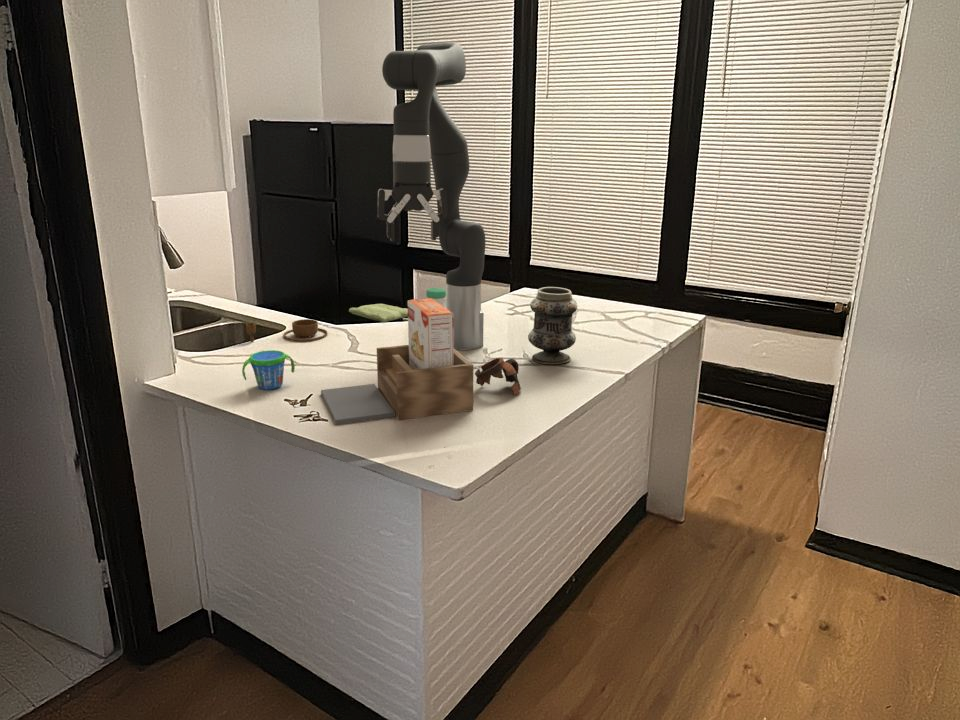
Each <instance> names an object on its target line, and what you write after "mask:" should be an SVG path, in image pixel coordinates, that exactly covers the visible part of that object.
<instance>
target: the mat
mask: <svg viewBox="0 0 960 720" xmlns="http://www.w3.org/2000/svg"><path fill="white" fill-rule="evenodd" d="M320 394H321V397H322V399H323V401H324V403H325V405H326V408H327V409H328V411H329V414H330V415H331V417H332V420H333V422H334V424H335V425H343V424H351V423H358V422H359V423H360V422H366V421H372V420H374V421H375V420H380V419H381V420H382V419H387V418H388V419H390V418H395V417H396V415H395V412H394V410H393V409H392V408H391V406H390V405H389V403H388V402H387V401H386V399H385V398H384V396H383V395H382V394H381V392H380V391H379V389H378V385H376V384H375V383H370V384H360V385H352V386H343V387H334V388H327V389H325V388H324V389H320Z"/></svg>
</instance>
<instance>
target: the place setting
mask: <svg viewBox="0 0 960 720" xmlns="http://www.w3.org/2000/svg"><path fill="white" fill-rule="evenodd" d="M318 324H319V323H318V321H317V320H316V319H310V318H309V319H307V318H305V319H297V320H294V321H293V322H291V327H292V329H289V330H287V331H285V332H284V333H283V338H284V339H285V340H287V341H289V342H295V343H305V342H307V343H308V342H315V341H316V342H317V341H320V340H322V339H325V338H326V337H327V336H328V331H327V330H326V329H324V328H320V327H319V325H318ZM256 326H257V325H256V323H254V322H251V323H250V322H249V323H246V324H245V329H246V333H247V334H248V335H249V341H250V342H251V343H254V342H255V338H254V335H255V334H256V333H257V332H256V330H257V328H256ZM318 331H319V332H323V333H325V334H323V335H321V336H317V337H314V336H315V335H316V334H317V333H318ZM290 333H293V334H294V335H295V336H296V337H297V338H294V337H293V338H292V337H288V336H287V335H288V334H290ZM298 337H299V338H298Z"/></svg>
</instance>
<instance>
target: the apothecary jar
mask: <svg viewBox="0 0 960 720" xmlns="http://www.w3.org/2000/svg"><path fill="white" fill-rule="evenodd" d="M572 294H573V293H572V291H571V290H570V289H568V288H566V287H565V288H564V287H558V286H545V287H539V288H538V289H537V293H536V296H535V297H533V298H532V299H531V301H530V305H529V306H530V309H531V310H532V311H533V313H534V318H533V319H534V320H533V327H532V329H530V331H529V333H528V335H527V336H528V337H527V339H528V342H529V343H530V344H531V345H532V346H533V347H534V348H537V349H539V350H542V351H539V352H536V353H534V354H533V355H532V356H531V359H532V360H533V361H534V362H536V363H539V364H542V365H554V366H555V365H563V364H567V363H569V362H570V361H571V356H570V355H569V354H567V353H565V352H563V351H564V350H567V349H570V348H572V346H574V344H575V343H576V340H577V337H576V334H575V333H574V331H573V329H572V327H573V324H572V323H573V314H574V313H576V312H577V310H578V302H577V301H576V299H574V298H573V295H572Z"/></svg>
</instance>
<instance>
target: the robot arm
mask: <svg viewBox="0 0 960 720" xmlns="http://www.w3.org/2000/svg"><path fill="white" fill-rule="evenodd" d="M382 63H383V64H382V68H381V69H382V71H381V72H382V77H383V81H385V83H386V85H387V86H388V87H389V88H391V89H393V90H394V91H395V90H397V91H417V93H416V96H415V97H414V99H412V100H411V101H406V102H403V103H399V104H396V105H395V106H394V108H393V112H392V116H393V117H392V118H393V141H392V171H393V173H392V174H393V175H392V176H393V178H392V179H393V180H392V181H393V184H392V185H393V186H392V188H391V189H383V188H379V189H378V190H377V203H376V204H377V206H376V211H377V213H376V217H377V218H378V219H379V220H380V221H383V222H385V223H386V236H387V239H389V240H390V242H395V239H396V238H395V237H396V235H395V234H396V233H395V232H396V230H395V222H394V221H395V219H396V217H398V215H399V214H401V212H402V210H403V211H405V212H410V211H417V212H421V211H423V210H424V211H425V213H427V215H428V216H429V218H430V219H431V221H430V240H431V241H436V240H437V238H438V242H439V245H440V248H441V250H442V252H443V253H444V254H446V255H448V256H452V257H458V258H460V259H459V260H460V261H459V266H458V267H457V268H455V269H451V270H448V271H447V273H446V275H445V279H446V280H445V283H446V284H445V290H446V299H445V304H446V308H447V310H449V311H450V312H452V313H453V348H454V349H455V350H457V351H471V350H476V349H478V348H481V347H484V325H485V324H484V321H485V320H484V316H485V315H484V312H483V311H482V277H483V275H484V274H483V273H484V270H485V269H484V268H485V257H486V256H485V255H486V234H485V230H484V227H483V226H482V225H481V224H480V223H478V222H475V221H465V220H462V219H461V215H460V197H461V194H462V191H463V188H464V186H465V184H466V181H467V180H468V179H467V178H468V176H469V173H470V156H469V147H468V141H467V139H466V137H465V135H464V133H463V132H462V131H461V129H460V128H459V127H458V125H457V124H456V123H455V121H454V120H453V119H452V118H451V117H450V115H449V113H448V112H447V111H446V109H445V108H444V105H443V104H442V102H441V100H440V96H439V95H438V90H437V87H441V86H453V85H456V84H459V83H461V82H463V80H464V79H465V76H466V71H467V70H466V69H467V64H466V63H467V62H466V55H465V52H464V48H463V47H462V46H461V44H460V43H458V42H455V41H444V42H435V43H427V44H421V45H419V46H417V49H416V50H394V51H390V52H389V53H388V54H387V55H385V58H384V60H383V62H382ZM431 168H432V169H431ZM431 172H433V177H434V185H435V189H433V188H432V185H431V184H432V178H431V175H432V173H431ZM390 196H391V197H392V198H393V199H394V201H395V204H393V206H392V208H391V210H390V211H389V212H388V214H386V213H385V205H386V204H385V202H386V201H388V200H389V198H390ZM433 196H435V199H436V204H437V213H436V212H435V210H434V208H433V207H432V206H431V205H430V204H429V203H430V202H431V201H430V200H431V199H432V198H433Z"/></svg>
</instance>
